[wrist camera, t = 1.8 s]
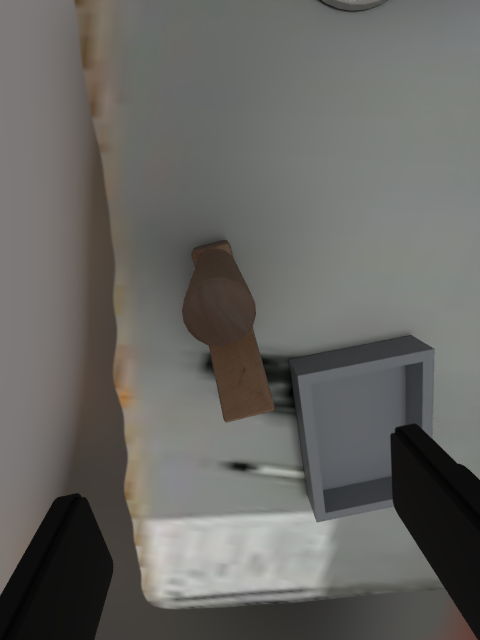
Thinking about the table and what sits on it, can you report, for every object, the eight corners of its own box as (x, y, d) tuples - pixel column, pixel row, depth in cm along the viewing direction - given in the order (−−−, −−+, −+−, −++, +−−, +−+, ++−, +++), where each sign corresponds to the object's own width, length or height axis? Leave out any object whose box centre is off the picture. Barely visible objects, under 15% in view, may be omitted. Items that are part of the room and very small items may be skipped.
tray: (288, 359, 36) (297, 376, 32) (411, 335, 36) (434, 348, 33) (307, 495, 43) (316, 522, 39) (411, 473, 43) (430, 498, 39)
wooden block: (220, 345, 35) (227, 466, 18) (192, 248, 32) (168, 285, 14) (252, 336, 35) (290, 450, 18) (228, 239, 32) (246, 265, 14)
